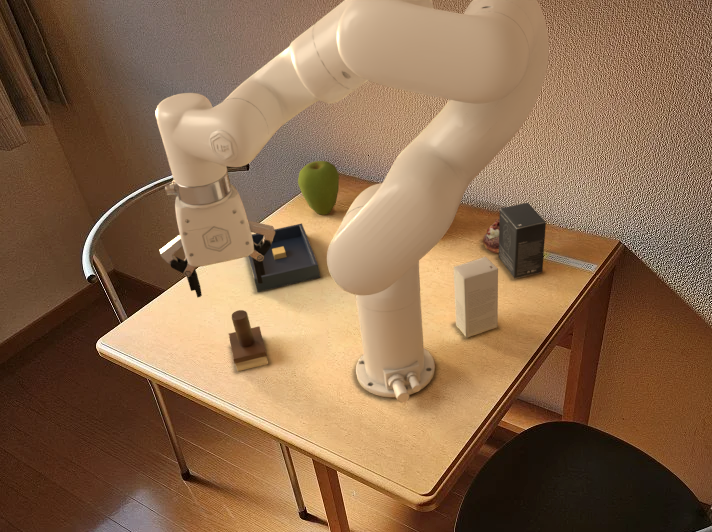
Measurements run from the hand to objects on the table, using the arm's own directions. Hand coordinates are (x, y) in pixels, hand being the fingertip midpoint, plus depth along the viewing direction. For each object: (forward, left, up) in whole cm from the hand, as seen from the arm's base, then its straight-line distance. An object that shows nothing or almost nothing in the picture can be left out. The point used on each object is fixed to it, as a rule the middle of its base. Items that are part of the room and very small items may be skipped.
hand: (229, 285), depth 115 cm
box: (+7, -52, -15) cm, 55 cm away
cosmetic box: (-7, -38, -15) cm, 42 cm away
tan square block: (+28, -10, -14) cm, 33 cm away
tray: (+26, -10, -14) cm, 31 cm away
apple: (+42, -22, -15) cm, 50 cm away
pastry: (+15, -52, -15) cm, 56 cm away
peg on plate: (0, 0, -14) cm, 14 cm away
